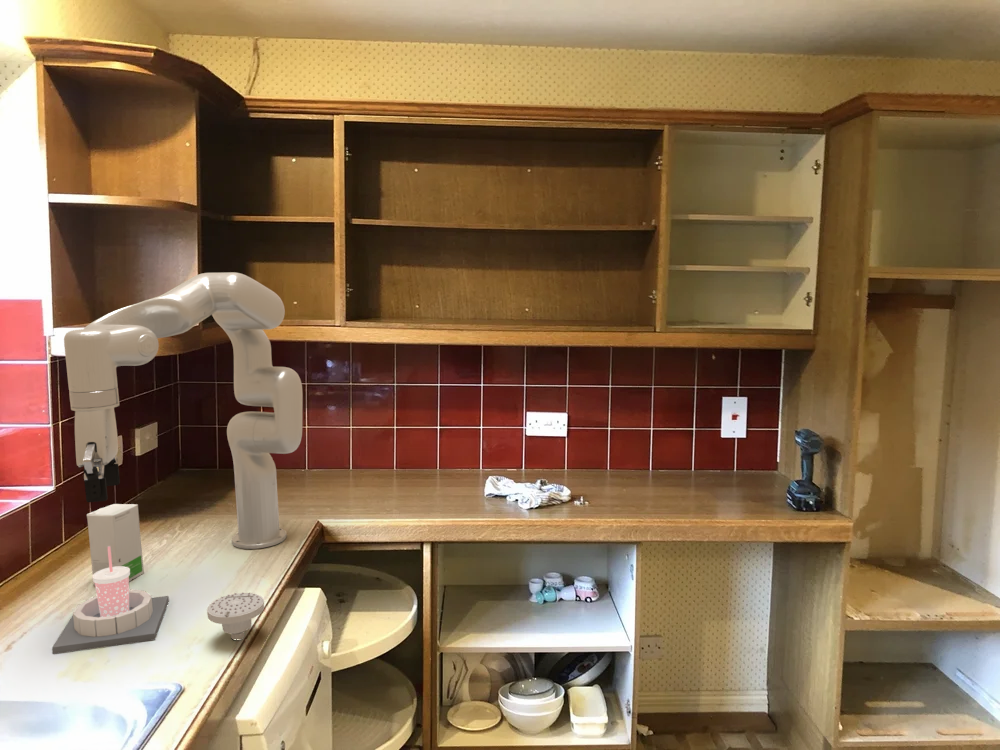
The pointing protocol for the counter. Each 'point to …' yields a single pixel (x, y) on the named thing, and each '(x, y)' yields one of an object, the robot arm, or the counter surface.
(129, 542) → the skincare box
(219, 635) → the counter surface
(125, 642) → the ring holder
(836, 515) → the counter surface
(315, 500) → the counter surface
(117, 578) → the beverage cup
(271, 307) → the robot arm
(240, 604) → the showerhead
